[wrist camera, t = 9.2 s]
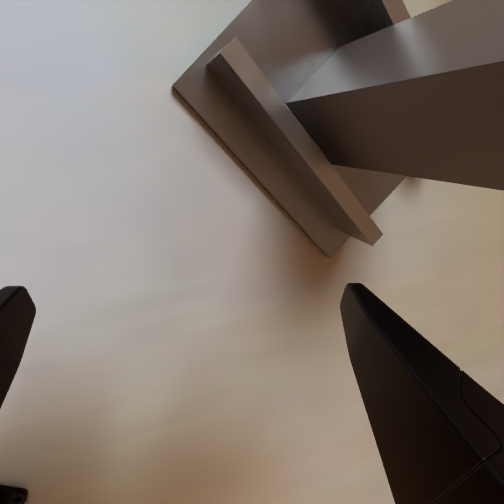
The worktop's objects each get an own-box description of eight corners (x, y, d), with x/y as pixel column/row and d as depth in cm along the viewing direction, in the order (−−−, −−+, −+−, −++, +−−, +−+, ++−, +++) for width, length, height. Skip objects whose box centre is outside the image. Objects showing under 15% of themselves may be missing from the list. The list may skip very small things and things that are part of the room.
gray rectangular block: (332, 164, 22) (561, 199, 10) (287, 102, 20) (515, 58, 8) (383, 110, 22) (668, 85, 10) (343, 42, 20) (652, -88, 8)
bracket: (326, 255, 25) (354, 273, 22) (171, 86, 18) (181, 75, 15) (446, 127, 25) (492, 126, 22) (338, -93, 18) (383, -140, 15)
